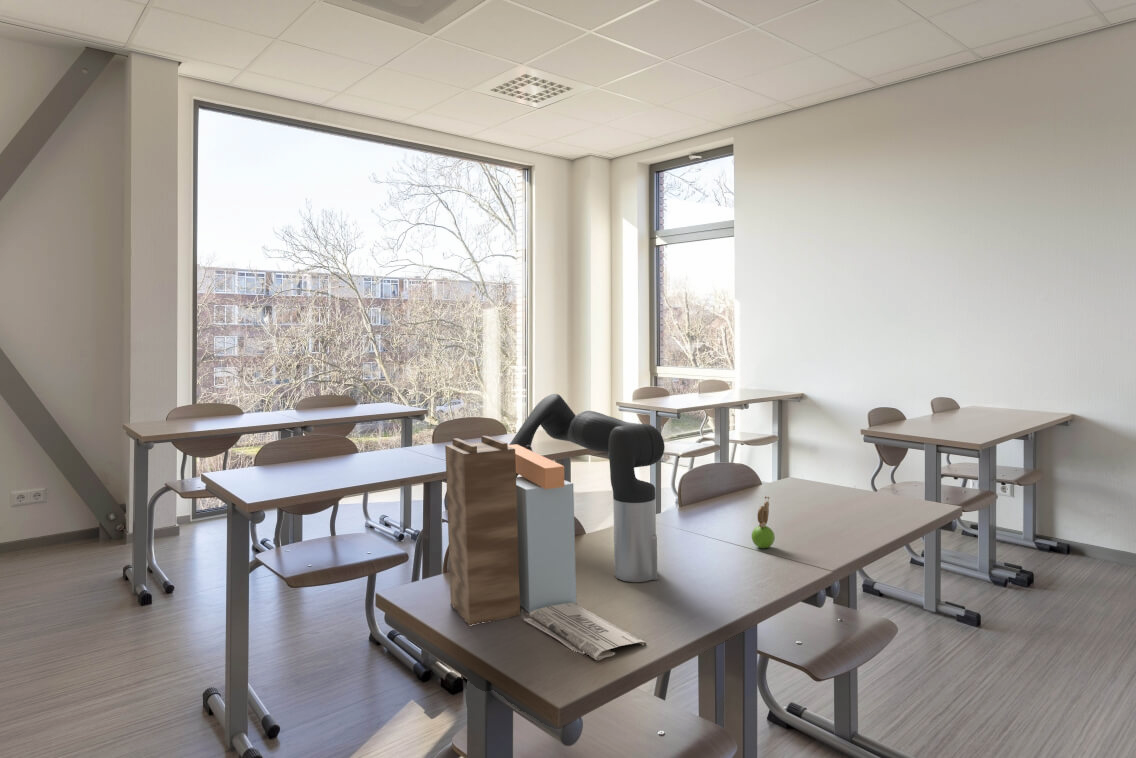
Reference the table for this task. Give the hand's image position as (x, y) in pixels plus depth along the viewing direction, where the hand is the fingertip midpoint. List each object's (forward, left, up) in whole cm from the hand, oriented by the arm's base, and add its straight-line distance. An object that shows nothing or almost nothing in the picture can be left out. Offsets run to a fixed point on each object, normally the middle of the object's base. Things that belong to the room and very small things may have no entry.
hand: (518, 450), depth 146 cm
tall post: (+6, +14, -29) cm, 33 cm away
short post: (-5, +8, -29) cm, 30 cm away
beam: (-3, +5, -4) cm, 7 cm away
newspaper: (-14, +25, -30) cm, 41 cm away
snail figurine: (-56, -25, -29) cm, 68 cm away
